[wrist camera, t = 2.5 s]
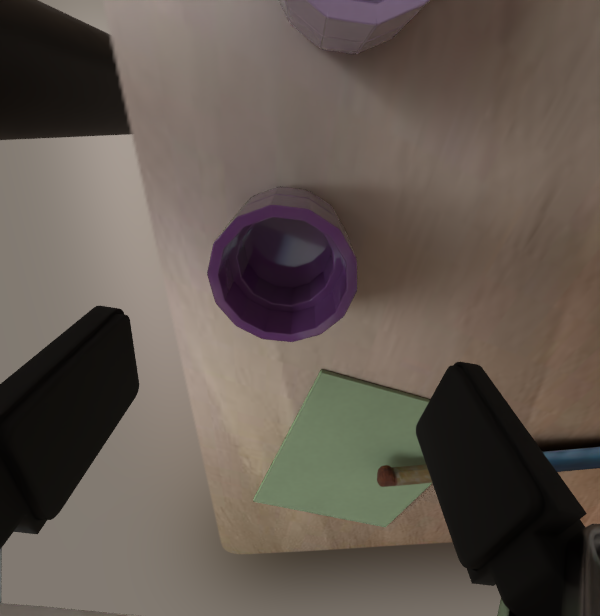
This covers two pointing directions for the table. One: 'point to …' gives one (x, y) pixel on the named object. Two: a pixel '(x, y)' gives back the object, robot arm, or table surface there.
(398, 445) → the placemat
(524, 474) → the robot arm
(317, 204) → the plum dish
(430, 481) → the knife
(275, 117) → the table surface
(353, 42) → the lilac dish
